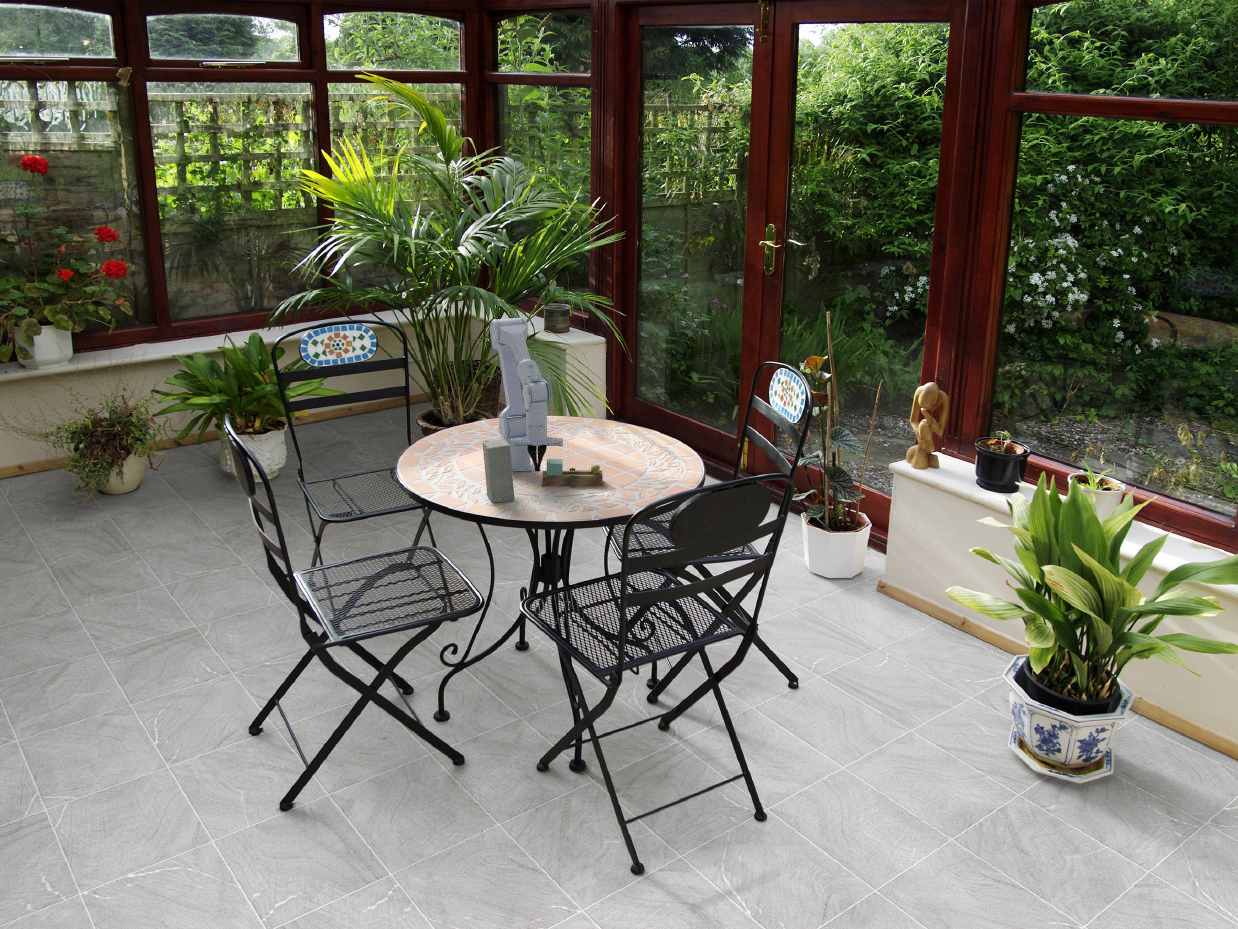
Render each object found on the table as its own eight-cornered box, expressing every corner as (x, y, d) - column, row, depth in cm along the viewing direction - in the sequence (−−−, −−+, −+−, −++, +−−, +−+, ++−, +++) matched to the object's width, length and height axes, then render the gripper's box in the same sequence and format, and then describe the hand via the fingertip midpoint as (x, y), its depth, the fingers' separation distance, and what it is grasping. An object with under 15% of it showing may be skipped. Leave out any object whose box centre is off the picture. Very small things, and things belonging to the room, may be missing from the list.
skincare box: (515, 501, 299) (513, 445, 294) (488, 504, 297) (487, 447, 292) (509, 491, 307) (507, 436, 302) (483, 493, 305) (481, 438, 300)
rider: (546, 480, 311) (546, 463, 309) (547, 475, 315) (546, 458, 313) (562, 480, 311) (562, 463, 309) (562, 475, 315) (562, 458, 313)
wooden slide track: (542, 487, 310) (541, 470, 308) (542, 479, 316) (542, 462, 315) (602, 486, 311) (602, 469, 309) (602, 479, 317) (602, 462, 315)
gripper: (509, 428, 303) (510, 475, 308) (562, 428, 304) (563, 474, 308) (511, 421, 310) (512, 467, 314) (562, 421, 311) (563, 466, 315)
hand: (537, 470), depth 312 cm, fingers closed
